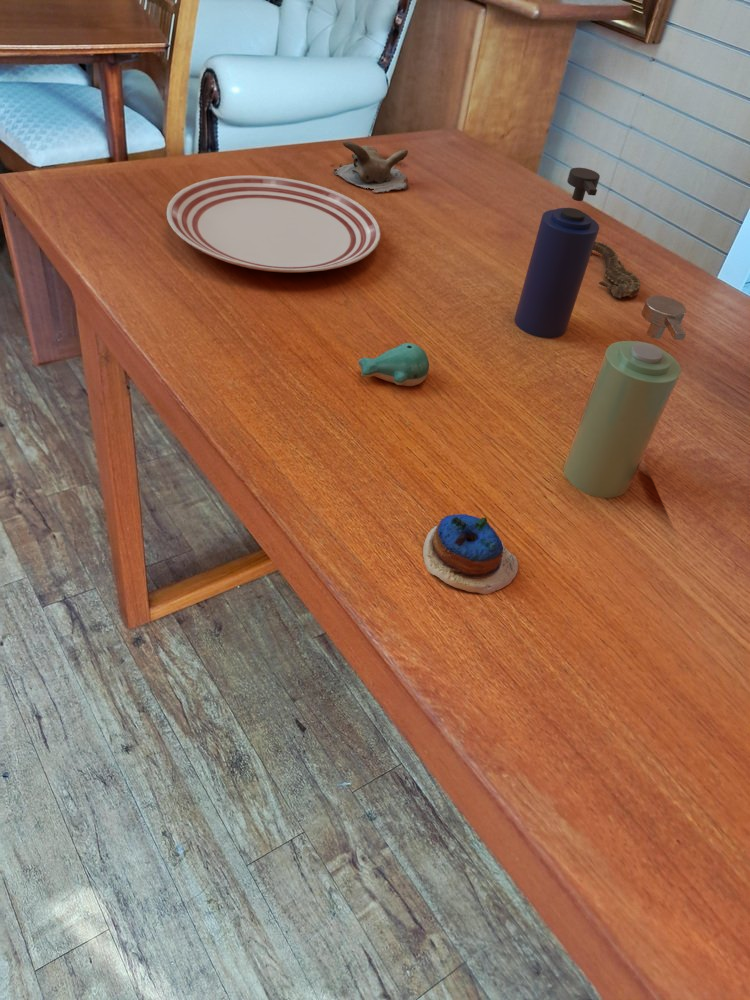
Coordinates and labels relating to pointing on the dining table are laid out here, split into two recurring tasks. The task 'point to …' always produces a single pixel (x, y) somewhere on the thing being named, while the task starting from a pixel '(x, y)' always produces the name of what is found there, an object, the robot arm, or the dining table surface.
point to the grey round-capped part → (664, 317)
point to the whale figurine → (398, 365)
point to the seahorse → (617, 273)
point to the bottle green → (620, 417)
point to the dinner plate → (273, 223)
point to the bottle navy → (555, 272)
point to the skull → (373, 169)
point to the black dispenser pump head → (583, 182)
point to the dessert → (469, 555)
